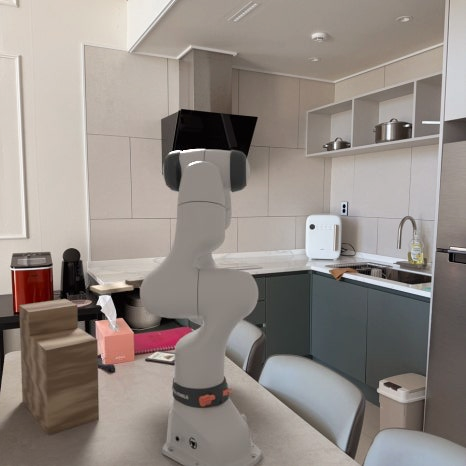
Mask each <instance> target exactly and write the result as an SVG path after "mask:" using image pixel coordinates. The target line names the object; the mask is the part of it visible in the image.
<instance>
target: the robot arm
mask: <svg viewBox="0 0 466 466" xmlns="http://www.w3.org/2000/svg"><path fill="white" fill-rule="evenodd" d="M250 176H251V166H250V163H249V160H248V158H247V155H246V154H245V153H244V152H243V151H241V150H235V149H231V150H226V149H225V150H223V149H206V148H195V149H187V150H183V151H182V150H181V149H180V150H174V151H171V152H169V153H168V154H167V155H166V156H165V158H164V161H163V165H162V177H163V179H164V182H165V185H166V187H168V188H169V190H171V191H174V192H177V194H178V195H177V206H176V208H177V209H176V225H175V234H174V238H173V243H172V246H171V248H170V250H169V252H168V254H167V255H166V257H165V258H164V260H163V261H162V262H161V263H160V264H158V266H156V267H154V269H152V270H151V271H150V272H148V273H147V275H145V278H144V276H139V277H138V278H144V280H143V282H142V285H141V287H138V288H139V297H140V301H141V304H142V307H143V308H144V310H145V311H146V312H147V313H148V314H149V315H152V316H156V317H161V318H166V319H188V320H189V321H190V322H192V323H195V324H196V325H199V326H200V327H199V328H197V329H195V330H192V331H190V332H189V333H186V334H185V335H184V336H182V337H181V338H180V339H179V340H178V341H177V342H176V344H175V347H174V353H175V365H174V376H173V379H172V385H171V389H172V397H173V402H172V405H171V408H170V410H169V412H168V417H167V419H168V420H167V429H166V442H165V443H164V444H163V445H162V448H161V449H162V450H161V453H162V454H163V455H164V456H166V457H168V458H169V459H172V460H174V461H175V462H177V463H179V464H181V465H182V466H255V465H256V464H258V463H259V461H260V460H261V458H262V457H263V453H262V451H263V450H261V448H260V447H258V445H257V444H255V442H253V441H252V440H251V431H250V428H249V425H248V422H247V421H248V420H247V417H246V415H245V414H244V413H240V412H239V410H238V408H237V407H236V406H235V404H234V403H233V401H232V399H231V398H230V395H231V394H232V393H233V392H230V391H232V390H233V389H232V387H231V388H229V385H228V381H227V378H226V376H225V361H226V350H227V345H228V341H229V338H230V337H231V334H232V332H233V331H234V329H235V328H236V327H237V325H239V323H240V322H241V321H242V320H244V319H245V318H247V316H249V315H250V314H251V313H252V312H253V311H254V309H256V306H257V303H258V300H259V288H258V284H257V281H256V280H255V278H254V276H253V275H252V274H251V273H249V271H244V270H239V269H233V268H230V267H229V268H221V267H220V266H218V264H217V263H216V262H215V260H214V259H213V252H215V251H216V250H218V249H219V248H221V246H222V245H223V243H224V241H225V238H226V230H227V229H228V228H229V227H230V226H231V222H232V213H233V212H232V198H231V197H232V195H231V193H236V192H239V191H242V190H243V189H245V188H246V187H247V184H248V182H249V179H250Z"/></svg>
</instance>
